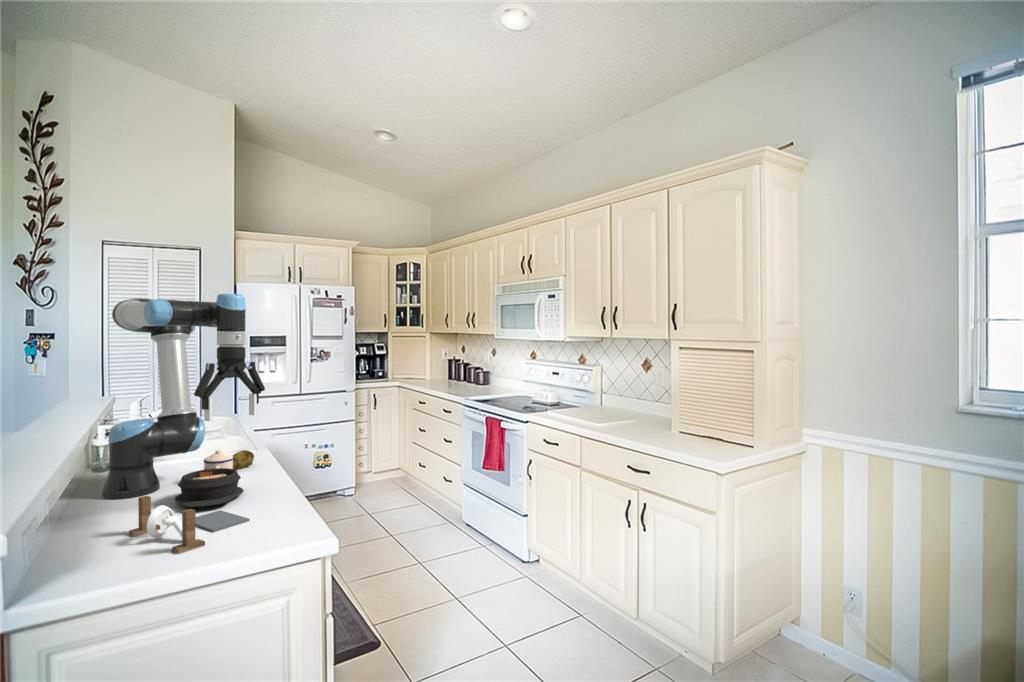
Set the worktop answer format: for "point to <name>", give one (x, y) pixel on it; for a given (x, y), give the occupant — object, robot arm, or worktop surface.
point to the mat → (218, 520)
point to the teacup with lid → (218, 461)
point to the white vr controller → (163, 521)
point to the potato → (242, 459)
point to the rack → (144, 514)
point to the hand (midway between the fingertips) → (231, 417)
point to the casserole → (209, 487)
